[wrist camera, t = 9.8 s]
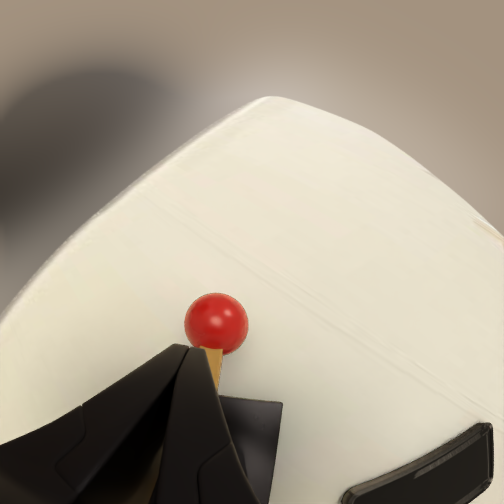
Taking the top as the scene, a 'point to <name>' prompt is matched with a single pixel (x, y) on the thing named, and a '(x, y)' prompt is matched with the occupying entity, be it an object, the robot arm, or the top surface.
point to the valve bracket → (252, 440)
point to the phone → (436, 474)
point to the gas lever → (216, 328)
